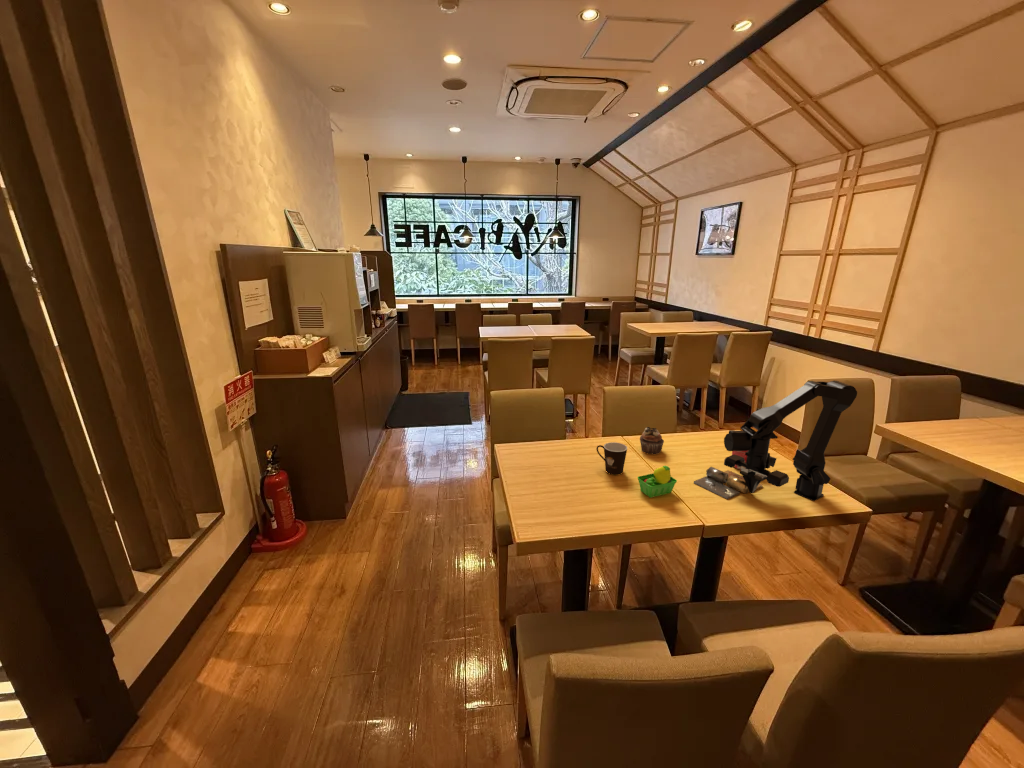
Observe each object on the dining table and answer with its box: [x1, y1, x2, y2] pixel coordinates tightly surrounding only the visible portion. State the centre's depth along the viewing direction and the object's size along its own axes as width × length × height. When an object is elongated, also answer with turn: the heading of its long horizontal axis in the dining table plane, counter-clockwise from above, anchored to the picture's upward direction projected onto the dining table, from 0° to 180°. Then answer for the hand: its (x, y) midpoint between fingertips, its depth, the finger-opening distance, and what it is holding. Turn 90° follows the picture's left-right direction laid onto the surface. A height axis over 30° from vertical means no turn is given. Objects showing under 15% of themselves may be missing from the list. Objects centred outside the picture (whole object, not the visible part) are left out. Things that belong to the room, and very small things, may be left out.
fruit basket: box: [637, 465, 678, 498], centre depth 145 cm, size 11×9×11 cm
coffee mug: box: [595, 441, 628, 475], centre depth 162 cm, size 12×9×10 cm
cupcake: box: [639, 426, 665, 455], centre depth 178 cm, size 10×10×10 cm
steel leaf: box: [693, 466, 741, 500], centre depth 149 cm, size 14×11×4 cm
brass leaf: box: [724, 469, 764, 494], centre depth 151 cm, size 13×11×4 cm
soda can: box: [731, 450, 748, 471], centre depth 162 cm, size 7×7×12 cm
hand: (751, 492), depth 143 cm, fingers closed
